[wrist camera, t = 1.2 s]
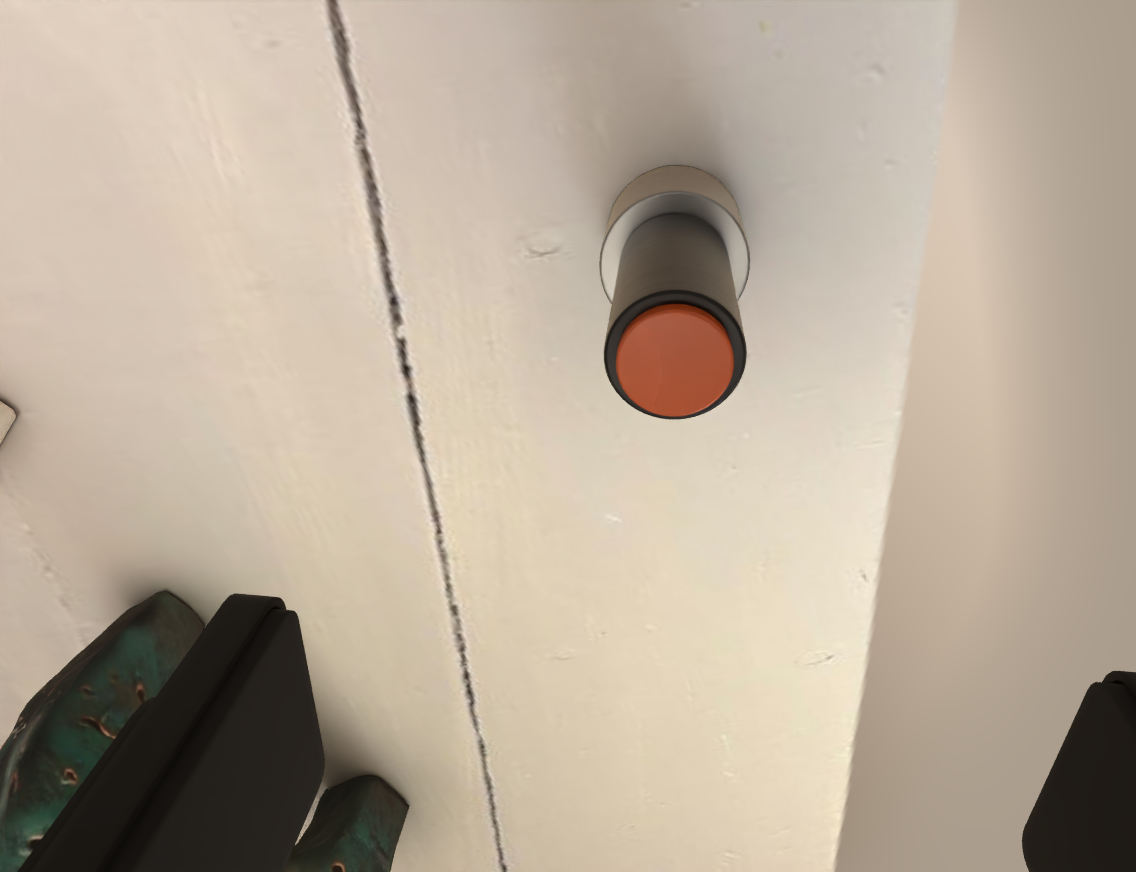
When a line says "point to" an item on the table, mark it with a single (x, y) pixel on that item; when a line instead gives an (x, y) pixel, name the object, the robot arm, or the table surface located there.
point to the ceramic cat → (103, 706)
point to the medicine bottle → (5, 419)
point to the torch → (674, 293)
